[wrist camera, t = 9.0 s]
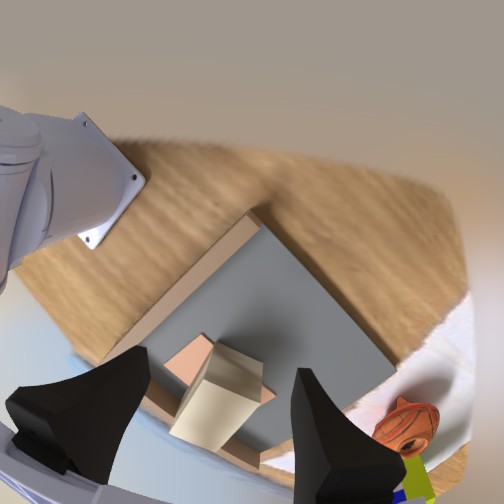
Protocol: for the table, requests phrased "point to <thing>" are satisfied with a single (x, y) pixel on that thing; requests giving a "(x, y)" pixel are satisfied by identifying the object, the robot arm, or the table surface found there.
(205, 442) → the birch block
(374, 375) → the tray
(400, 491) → the puzzle toy
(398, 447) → the pot
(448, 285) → the table surface
